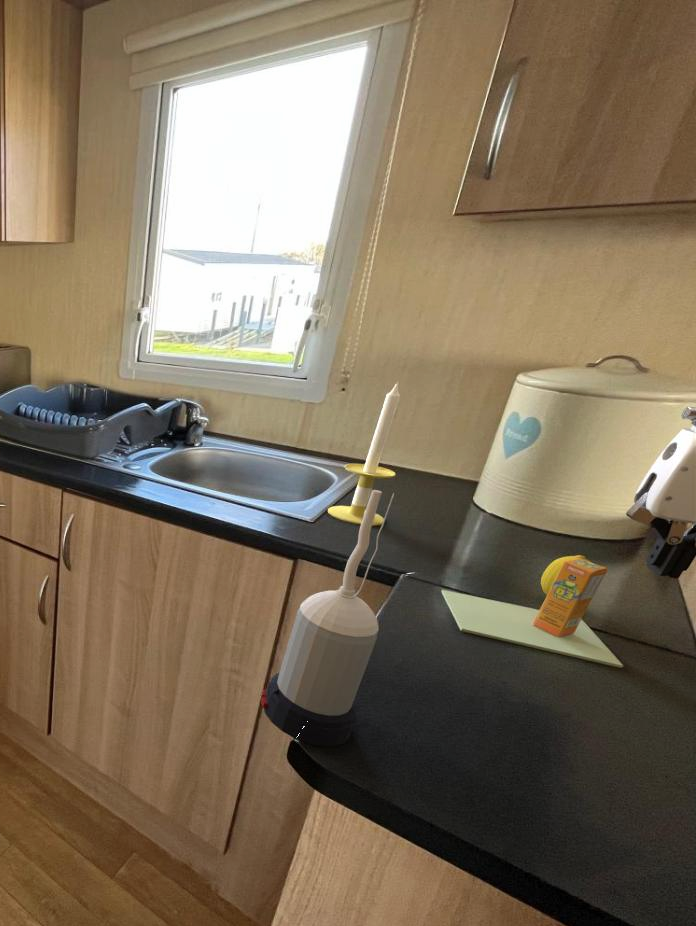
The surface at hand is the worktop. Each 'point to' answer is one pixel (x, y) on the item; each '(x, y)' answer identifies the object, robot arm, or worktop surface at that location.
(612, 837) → the worktop surface
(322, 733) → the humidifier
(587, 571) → the supplement box
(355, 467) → the candle
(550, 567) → the lemon
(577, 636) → the mat
